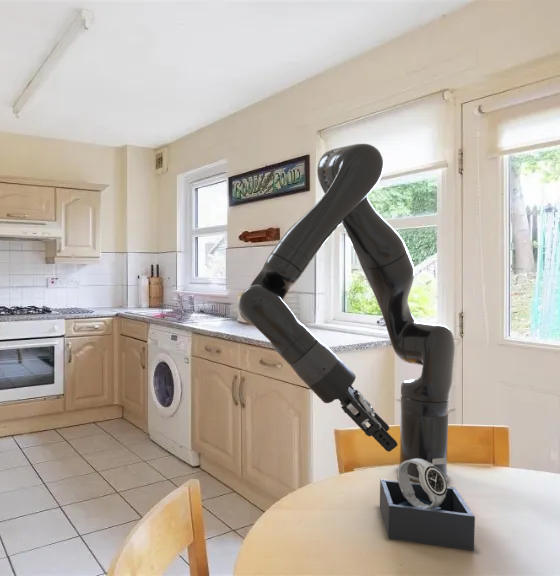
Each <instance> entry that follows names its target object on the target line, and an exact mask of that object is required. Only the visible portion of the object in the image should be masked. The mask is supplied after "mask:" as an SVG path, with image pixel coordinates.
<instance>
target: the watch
mask: <svg viewBox="0 0 560 576" xmlns="http://www.w3.org/2000/svg"><path fill="white" fill-rule="evenodd" d="M411 462H412V463H414V464H416V465H418V466H417V469H418V471H419V480H420V482H419V484H421V486H422V488H423V489H424V491H425V492H426V493H427V494H428V496H429V498H430V501H431V502H432V501H433V502H432V503H430V502H428V501H426V500H424V499H422V498H420V497H419V498H416V496H415V495H414V494H415V492H414V490H413V487H412V485H411V483H412V482H411V479H410V478H409V475H408V474H407V467H408V465H409V464H410V463H411ZM396 478H397V481H398V483H399V486H400V489H401V491H402V494H403V496H404V498H406V499H407V500H408V501H405V502H402V503H399V504H398V505H403V506H411V507H419V508H427V509H435V510H442V508H440V507H438V506H439V505H440V504H441V503H442V502H443V500H444V498H445V494H446V492H447V487H448V482H447V481H446V479H445V477H444V475H443V473H442V472H441V471H440V470H439V469H438V468H437V467H435V466H433V465H432V464H431V463H429V462H428V461H426V460H423V459H419V458H415V459H411V460H407V461H404V462H402V463H401V464H400V465H398V468H397V475H396Z"/></svg>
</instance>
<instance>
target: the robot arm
mask: <svg viewBox="0 0 560 576" xmlns="http://www.w3.org/2000/svg"><path fill="white" fill-rule="evenodd" d="M316 167H317V168H316V172H317V173H316V175H317V179H318V182H319V185H320V187H321V189H322V192H323V194H324V195H323V196H322V197H321V198H320V199H319V200H318V201H317V203H315V205H314V206H313V207H311V208H310V209H309V210H308V211H307V212H306V213H305V214H304V215H302V217H300V218H299V219H298V220H297V221H296V222H295V223H294V224H292V226H291V227H289V228H288V229H287V230H286V232H285V233H284V234H283V235H282V237H280V239H279V241H278V242H277V243H276V244H275V246H274V248H273V249H272V251H271V252H270V253H269V255H268V257H267V258H266V259H265V261H264V263H263V266H262V268H261V270H260V271H259V273H257V275H256V277H255V278H254V280H253V281H252V282H251V283H250V285H249V286H248V287H246V288H245V289H244V290H243V291H242V293H241V295H240V297H239V301H238V305H237V307H238V312H239V315H240V317H241V318H242V320H243V321H245V322H246V323H248V324H250V325H253V326H254V328H256V329H257V330H258V331H259V332H260V333H261V334H262V335H263V336H264V337H265V338H266V339H267V340H268V341H269V343H270V345H271V347H272V348H273V349H274V351H275V352H276V353H277V354H278V355H279V356H280V357H281V358H282V359H283V360H284V361H285V362H286V363H287V365H289V366H290V368H291V369H292V370H293V371H294V372H295V374H296V376H298V378H299V379H300V380H301V381H302V382H303V383H304V384H305V385H306V386H307V387H308V388H309V389H310V390H311V391H312V392H313V393H314V394H315V395H316V396H317V397H318V398H319V399H320V400H321V402H323V403H324V404H330V403H333V402H334V401H335V400H338V401H339V402H340V405H341V406H340V408H341V410H343V413H345V414H346V415H347V416H348V417H349V418H350V419H351V420H352V421H353V422H354V423H355V424H356V425H357V426H358V427H359V428H360V430H361V431H362V432H364V434H365V436H368V437H370V438H371V437H372V438H373V439H374V440H375V441H376V442H377V443H378V444H379V445H380V446H381V447H382V448H383V449H384V450H385V451H386V452H387V453H388V452H389V453H390V452H392V451H393V450H394V449H396V448H397V447H398V442H397V440H396V439H395V438H393V436H392V435H391V434H390V433H389V432H388V431H389V430H390V426H389V424H387V422H386V421H385V420H384V419H383V418H382V417H381V416H380V415H379V414H378V413H377V412H376V410H375V408H374V406H372V404H371V402H369V400H368V399H367V398H365V397H364V395H363V394H362V393H361V392H360V390H358V389H357V388H355V387H354V386H353V384H354V383H355V381H356V377H357V376H356V374H355V373H354V372H353V370H351V369H350V368H349V367H348V366H347V365H346V363H345V362H344V361H342V359H341V358H340V357H339V356H337V355H336V354H335V353H334V351H332V349H330V348H329V347H328V346H327V345H326V344H324V343H323V341H321V340H320V339H318V337H316V335H315V334H314V333H312V331H310V330H309V328H308V327H306V326H305V325H304V324H303V322H301V321H300V320H299V319H298V318H297V317H296V315H295V313H293V311H292V310H291V309H290V308H289V306H288V305H287V304H286V303H285V301H283V300H284V299H285V297H286V296H287V294H288V293H289V291H290V289H291V288H292V287H293V286H294V285H295V284H296V283H297V282H298V280H299V279H300V278H301V277H302V275H303V274H304V272H305V271H306V269H307V268H308V266H309V265H310V264H311V262H312V261H313V259H314V258H315V256H316V255H317V253H318V252H319V250H321V248H322V246H323V245H324V244H325V243H326V241H327V240H328V239H329V238H330V237H331V235H332V234H333V233H334V232H335V231H336V230H337V229H338V227H339V226H340V225H341V224H342V227H343V228H344V230H345V233H346V235H347V238H348V239H349V242H350V243H351V246H352V248H353V250H354V252H355V254H356V257H357V259H358V262H359V265H360V267H361V270H362V272H363V273H364V276H365V278H366V280H367V282H368V284H369V286H370V288H371V290H372V294H373V295H374V297H375V299H376V302H377V305H378V308H379V309H380V312H381V315H382V318H383V321H384V324H385V327H386V330H387V333H388V337H389V340H390V343H391V347H392V349H393V351H394V353H395V354H396V356H397V357H398V358H399V359H400V361H403V362H405V363H408V364H412V365H417V366H422V368H421V374H420V376H419V377H417V378H410V379H406V380H403V381H402V383H401V385H400V416H399V417H400V418H399V419H400V422H399V462H398V463H399V465H400V464H401V463H402V462H404V461H407V460H411V459H415V458H419V459H423V460H426V461H428V462H429V463H431V464H432V465H433V466H435V467H437V468H438V469H439V470H440V471H441V472H442V473H443V475H444V477H445V479H446V482H447V481H448V451H449V449H448V448H449V447H448V446H449V442H448V441H449V402H450V401H449V398H450V391H451V388H452V385H453V377H454V376H453V373H454V363H455V350H456V349H455V346H456V345H455V338H454V334H453V332H452V330H451V329H450V328H449V327H448V326H446V325H442V324H439V323H438V324H436V323H427V322H420V321H419V322H418V321H417V320H416V319H415V318H414V315H413V314H412V312H411V309H410V306H409V296H410V292H411V289H412V287H413V284H414V283H413V282H414V279H415V267H414V264H413V261H412V258H411V255H410V253H409V250H408V248H407V246H406V244H405V241H404V240H403V238H402V237H401V236H400V234H399V233H398V232H397V231H396V230H395V228H393V226H391V225H390V224H389V223H388V222H387V221H386V220H385V219H384V218H383V216H381V215H380V214H379V213H378V211H376V210H375V208H374V206H373V205H372V204H371V201H370V200H369V199H368V198H369V197H368V195H369V194H370V193H371V192H372V190H374V188H375V187H376V186H377V184H378V183H379V182H380V180H381V178H382V175H383V172H384V159H383V156H382V153H381V152H380V150H379V149H378V148H377V147H375V146H374V145H372V144H368V143H353V144H349V145H345V146H340V147H336V148H331V149H329V150H326V152H324V153H323V154H322V156H321V157H320V158H319V160H318V164H317V166H316ZM366 423H368V424H369V425H368V426H367V425H366ZM399 465H398V466H399ZM417 466H418V465H416V464H414V463H412V462H411V463H410V464H409V465H408V467H407V474H408V475H409V478H410V481H414V482H416V483H420V480H419V471H418V469H417Z"/></svg>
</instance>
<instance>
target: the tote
mask: <svg viewBox="0 0 560 576" xmlns="http://www.w3.org/2000/svg"><path fill="white" fill-rule="evenodd" d="M411 485H412V487H413V490H414V492H415V494H414V495H415V496H416V498H419V497H420V498H422V499H424V500H426V501H428V502H430V503H432V502H433V501H432V502H431V501H430V498H429V496H428V494H427V493H426V492H425V491H424V489H423V488H422V486H421V484H420V482H411ZM405 501H408V500H407V499H406V498H404V496H403V494H402V491H401V489H400V486H399V483H398V480H392V479H384V478H383V479H382V478H381V479H379V510H380V514H381V516H382V521H383V524H384V528H385V532H386V535H387V538H388V540H396V541H403V542H408V543H417V544H423V545H430V546H438V547H444V548H451V549H457V550H465V551H470V552H474V551H475V527H476V524H475V523H476V516H475V514H474V513H473V512H472V510H471V508H470V507H469V506H468V503H466V501H465V499H464V498H463V496H462V495H461V494H460V492H459V490H458V489H457V488H456V487H454V486H447V492H446V494H445V498H444V500H443V502H442V503H441V504H440V505H439V506H438V507H440V508H442V510H435V509H427V508H419V507H411V506H403V505H398V504H399V503H402V502H405Z"/></svg>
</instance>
